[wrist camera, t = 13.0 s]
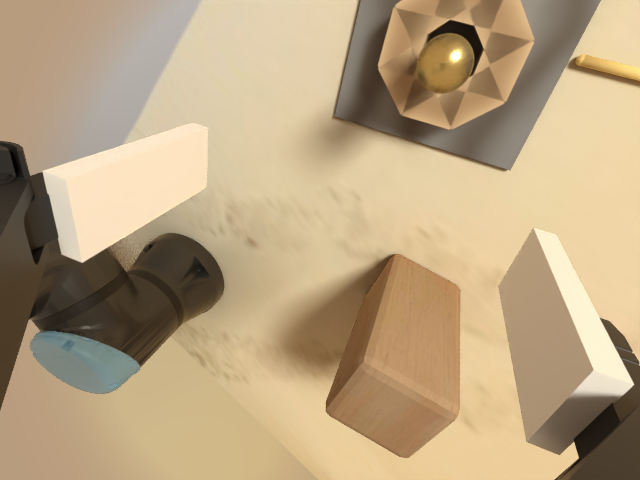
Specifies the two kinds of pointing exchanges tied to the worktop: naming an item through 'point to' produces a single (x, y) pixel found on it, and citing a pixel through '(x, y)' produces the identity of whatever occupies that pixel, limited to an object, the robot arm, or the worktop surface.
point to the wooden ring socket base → (484, 81)
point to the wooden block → (401, 360)
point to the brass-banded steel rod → (445, 63)
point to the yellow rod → (608, 67)
